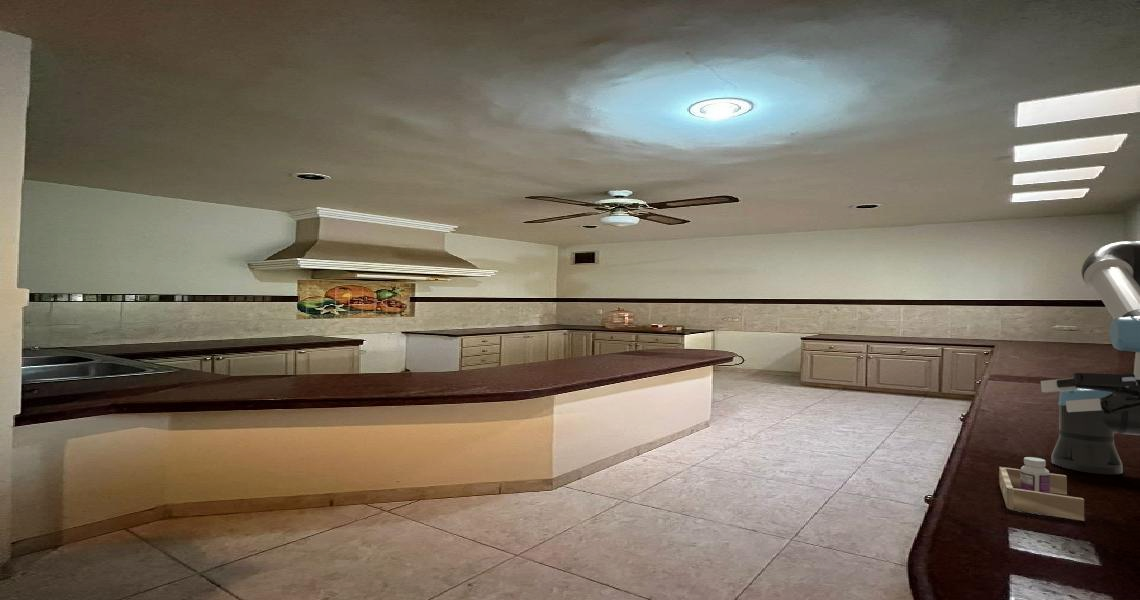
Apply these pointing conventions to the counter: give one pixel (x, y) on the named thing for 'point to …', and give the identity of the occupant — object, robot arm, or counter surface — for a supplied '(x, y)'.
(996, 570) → the counter surface
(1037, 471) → the pill bottle
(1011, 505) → the wooden frame
